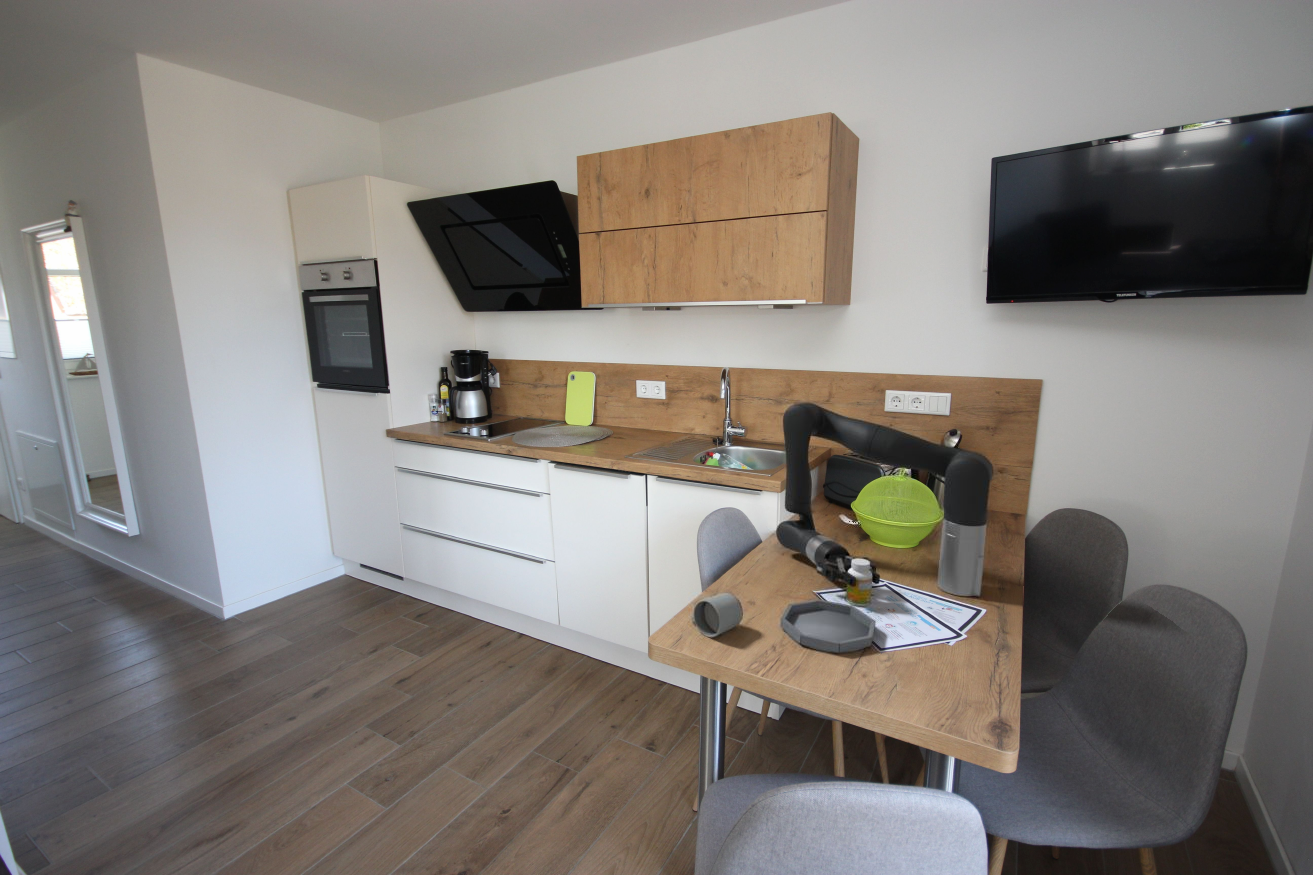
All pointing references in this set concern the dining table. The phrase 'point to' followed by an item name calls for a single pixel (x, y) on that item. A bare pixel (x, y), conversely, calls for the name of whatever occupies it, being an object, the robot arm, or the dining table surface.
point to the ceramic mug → (717, 614)
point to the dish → (828, 626)
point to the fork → (847, 520)
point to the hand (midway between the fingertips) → (866, 581)
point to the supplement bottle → (860, 583)
